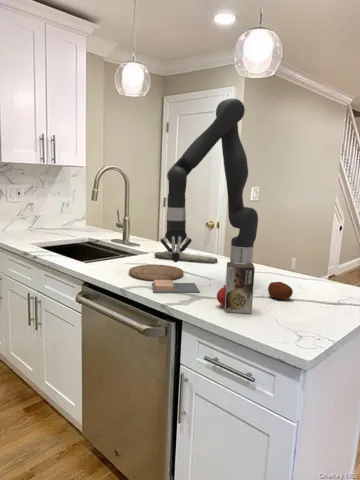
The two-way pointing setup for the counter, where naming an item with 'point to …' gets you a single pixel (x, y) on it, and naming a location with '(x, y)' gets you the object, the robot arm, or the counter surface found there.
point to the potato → (280, 290)
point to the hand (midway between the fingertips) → (175, 261)
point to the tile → (163, 285)
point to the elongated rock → (186, 257)
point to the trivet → (156, 272)
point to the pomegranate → (221, 296)
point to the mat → (180, 288)
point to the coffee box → (239, 287)
